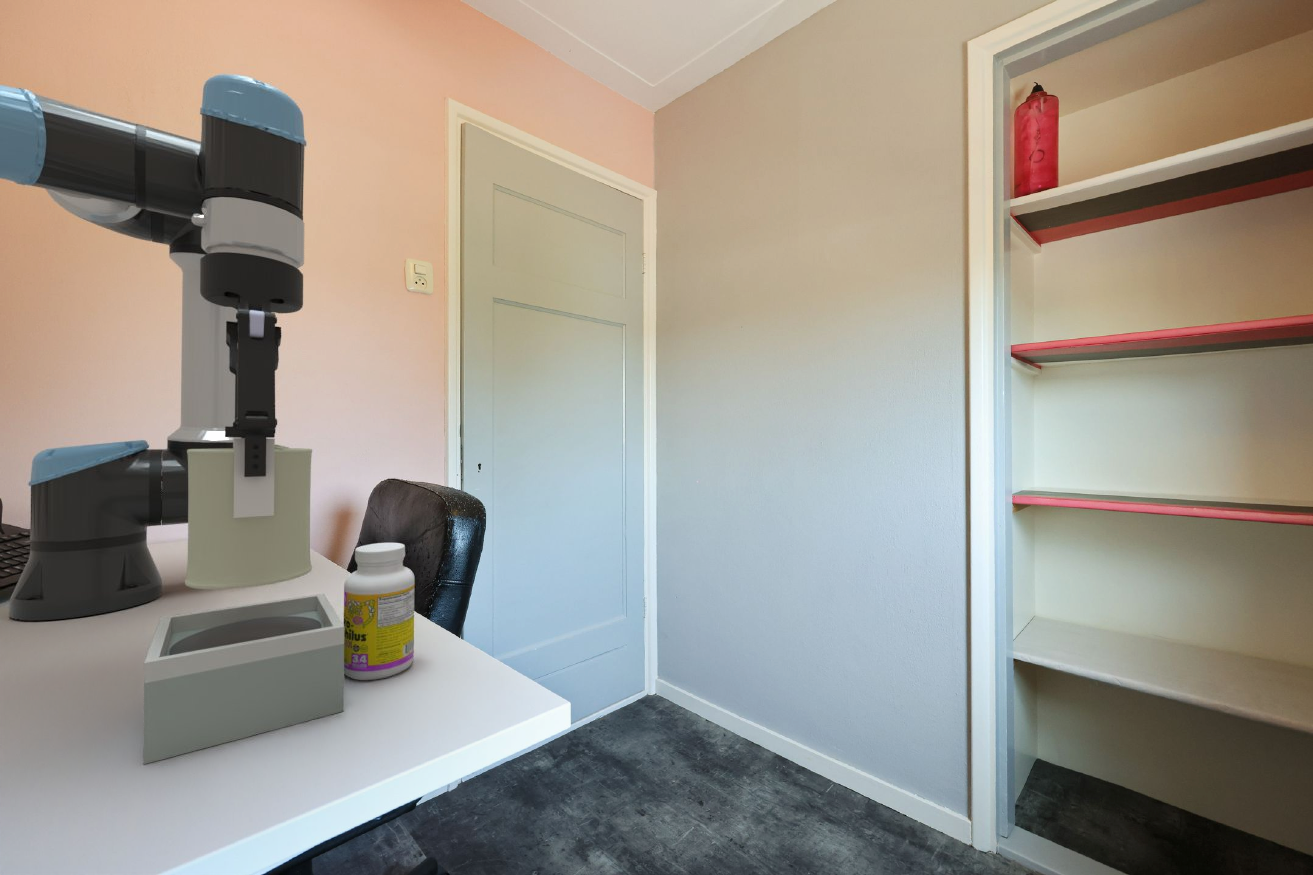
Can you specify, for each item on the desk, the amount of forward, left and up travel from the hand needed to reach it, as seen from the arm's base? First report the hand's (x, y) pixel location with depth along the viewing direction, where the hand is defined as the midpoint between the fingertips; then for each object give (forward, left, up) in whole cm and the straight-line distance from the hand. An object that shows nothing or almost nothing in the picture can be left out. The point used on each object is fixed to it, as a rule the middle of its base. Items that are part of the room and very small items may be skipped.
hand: (251, 509), depth 49 cm
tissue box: (0, 0, -18) cm, 18 cm away
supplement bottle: (-2, +11, -18) cm, 21 cm away
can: (0, 0, -6) cm, 6 cm away
